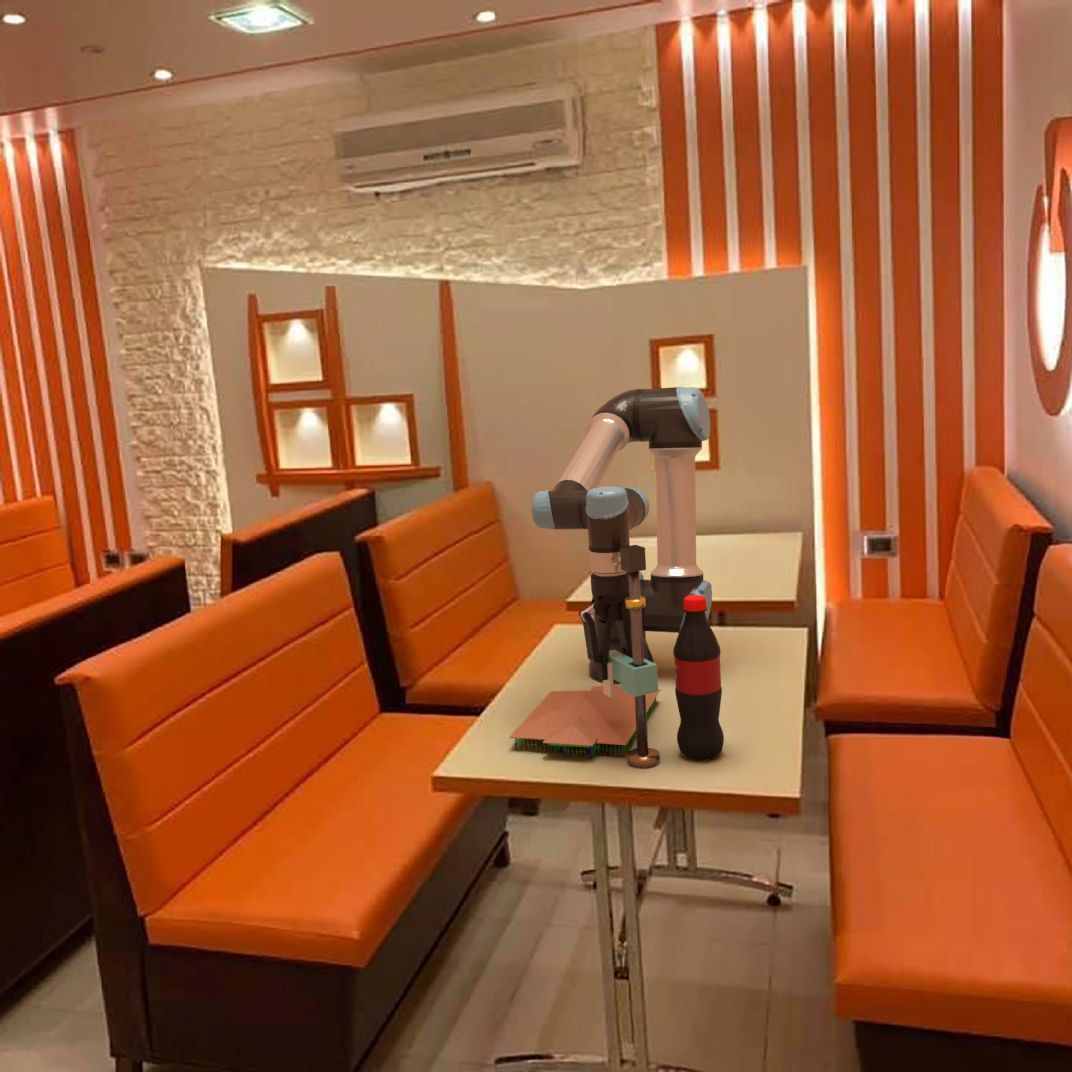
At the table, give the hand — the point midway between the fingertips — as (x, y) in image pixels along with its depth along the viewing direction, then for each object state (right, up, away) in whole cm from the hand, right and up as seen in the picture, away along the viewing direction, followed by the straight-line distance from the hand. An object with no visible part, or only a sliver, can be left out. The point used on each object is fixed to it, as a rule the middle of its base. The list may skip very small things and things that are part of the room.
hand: (617, 693), depth 196 cm
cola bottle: (+15, -11, -4) cm, 19 cm away
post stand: (+4, -12, -6) cm, 14 cm away
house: (-5, -10, +13) cm, 17 cm away
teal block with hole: (+1, +2, -4) cm, 5 cm away
